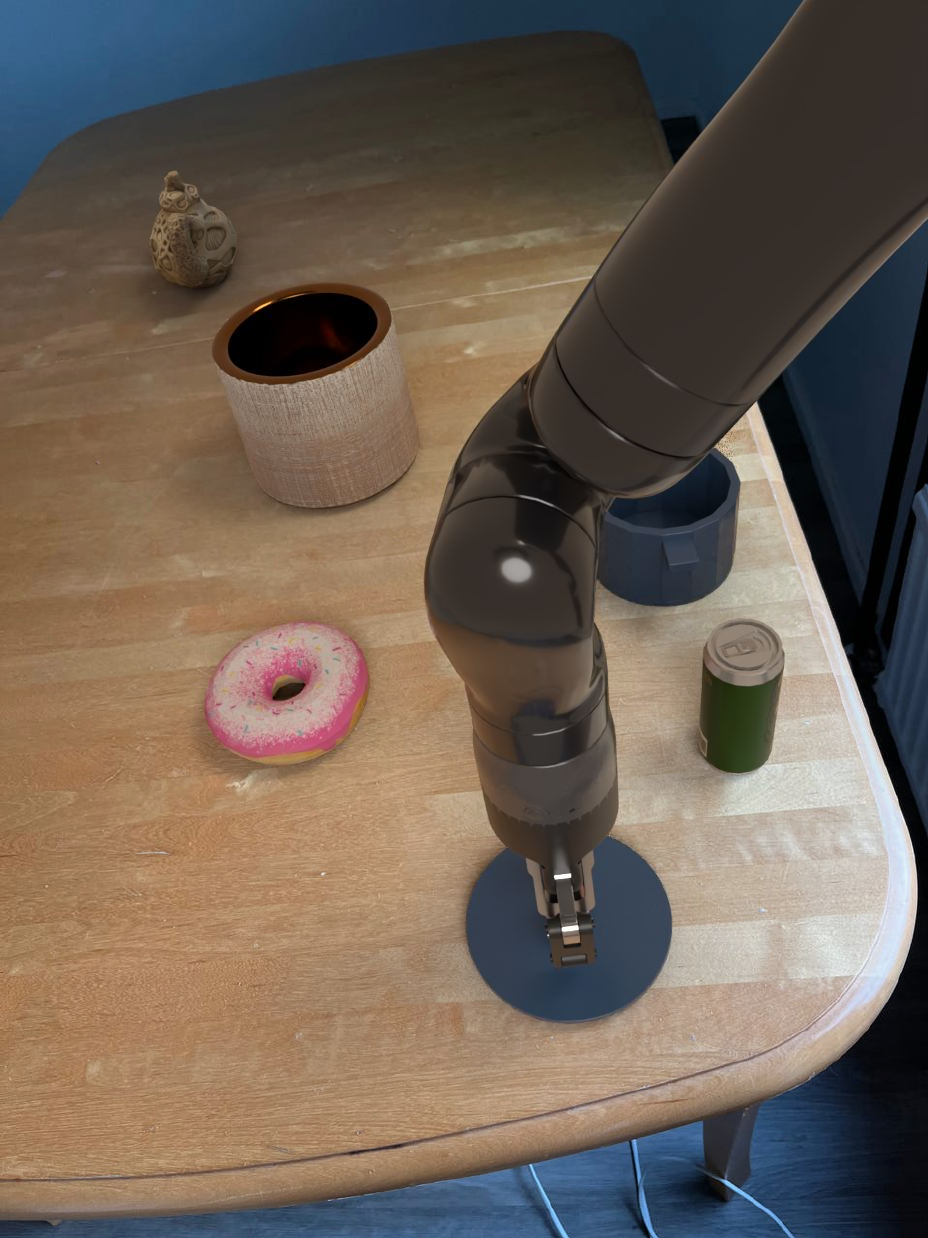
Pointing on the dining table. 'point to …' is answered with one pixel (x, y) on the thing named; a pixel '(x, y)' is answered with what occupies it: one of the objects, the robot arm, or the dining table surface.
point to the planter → (318, 393)
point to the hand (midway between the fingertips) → (565, 904)
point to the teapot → (191, 237)
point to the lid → (520, 948)
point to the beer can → (740, 695)
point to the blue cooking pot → (673, 538)
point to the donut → (297, 723)
